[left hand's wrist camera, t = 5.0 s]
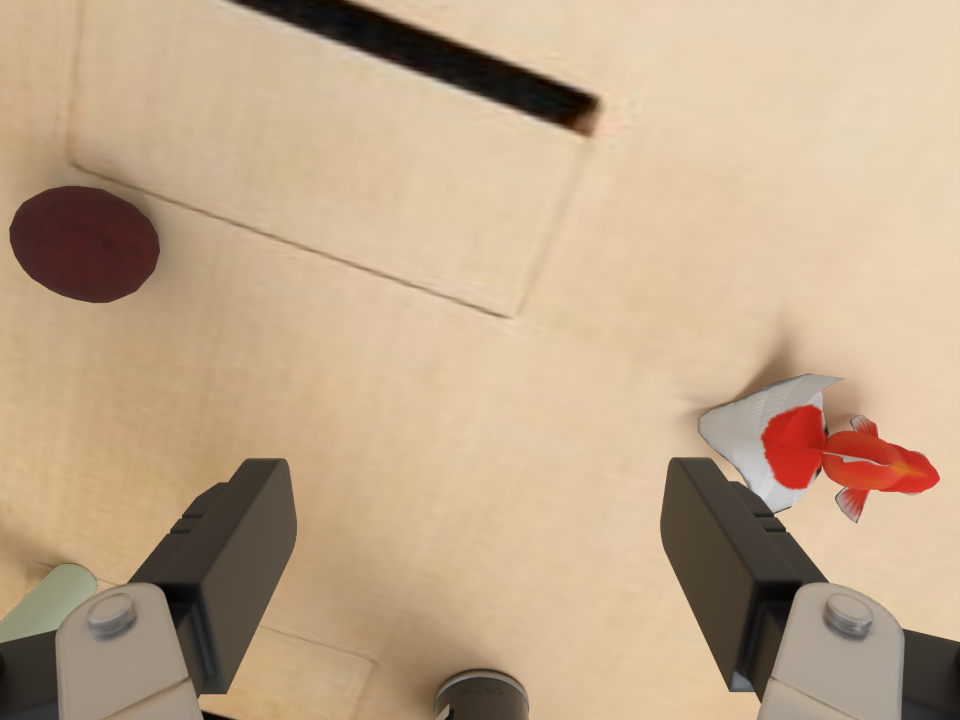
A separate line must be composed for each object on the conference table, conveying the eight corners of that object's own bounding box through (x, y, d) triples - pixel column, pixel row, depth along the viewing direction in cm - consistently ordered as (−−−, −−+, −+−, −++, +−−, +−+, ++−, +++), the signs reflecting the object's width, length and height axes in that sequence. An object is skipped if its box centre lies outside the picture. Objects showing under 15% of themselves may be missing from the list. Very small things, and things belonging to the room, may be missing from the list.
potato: (49, 189, 37) (-43, 198, 31) (160, 175, 37) (91, 181, 30) (89, 294, 40) (12, 323, 33) (193, 282, 40) (136, 309, 33)
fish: (850, 567, 43) (920, 602, 33) (666, 459, 47) (680, 464, 38) (920, 448, 43) (1009, 449, 33) (729, 351, 47) (760, 328, 38)
